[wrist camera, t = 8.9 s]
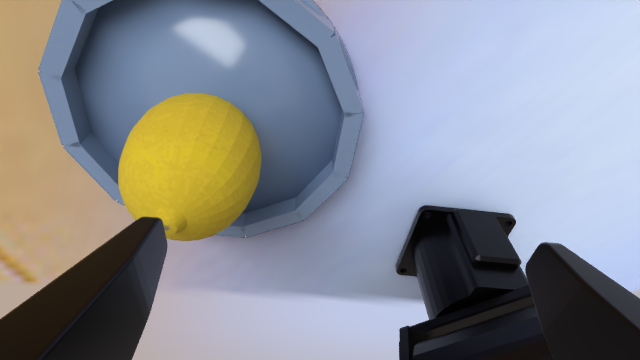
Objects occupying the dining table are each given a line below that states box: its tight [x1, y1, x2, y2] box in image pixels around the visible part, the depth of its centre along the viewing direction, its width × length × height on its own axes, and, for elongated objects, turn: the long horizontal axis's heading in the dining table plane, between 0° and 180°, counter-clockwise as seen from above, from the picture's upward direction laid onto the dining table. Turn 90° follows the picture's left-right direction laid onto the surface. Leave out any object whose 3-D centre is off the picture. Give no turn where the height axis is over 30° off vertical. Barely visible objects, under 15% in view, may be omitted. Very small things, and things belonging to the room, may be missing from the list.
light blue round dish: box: [38, 0, 364, 238], centre depth 19 cm, size 15×15×2 cm
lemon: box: [118, 93, 261, 241], centre depth 16 cm, size 6×6×8 cm
